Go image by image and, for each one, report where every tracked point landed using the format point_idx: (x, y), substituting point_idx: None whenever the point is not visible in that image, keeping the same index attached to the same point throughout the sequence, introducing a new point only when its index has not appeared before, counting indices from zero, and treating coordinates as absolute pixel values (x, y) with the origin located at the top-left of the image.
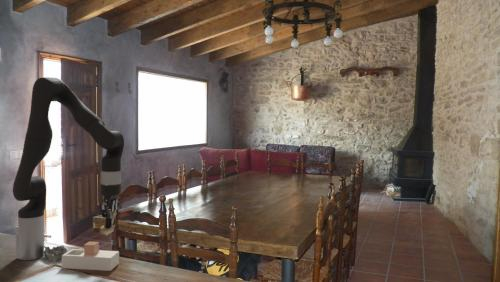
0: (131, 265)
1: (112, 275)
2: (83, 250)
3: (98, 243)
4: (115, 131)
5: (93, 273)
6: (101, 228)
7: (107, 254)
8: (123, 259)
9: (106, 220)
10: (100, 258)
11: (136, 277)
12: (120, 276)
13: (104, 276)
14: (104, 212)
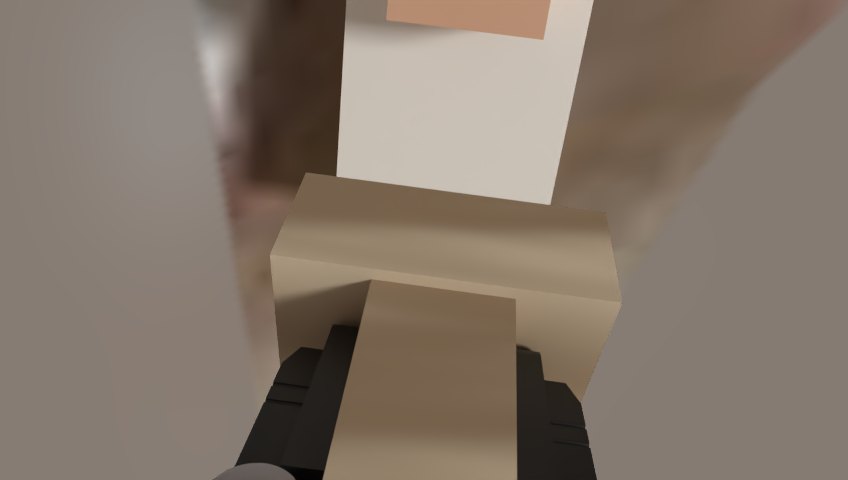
0: None
1: (265, 212)
2: None
3: (526, 34)
4: None
5: (287, 37)
6: (278, 253)
7: (435, 154)
8: (637, 205)
9: (245, 457)
10: (342, 103)
11: (253, 378)
12: (255, 274)
13: (237, 156)
14: None
